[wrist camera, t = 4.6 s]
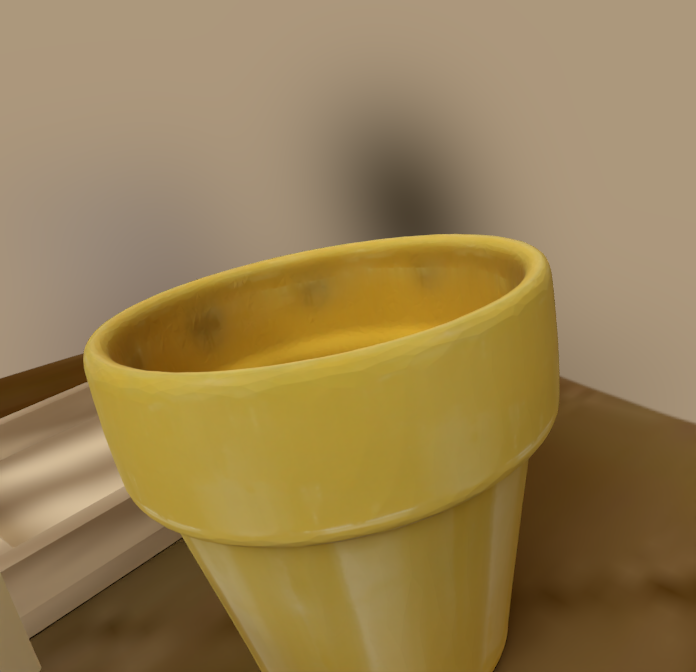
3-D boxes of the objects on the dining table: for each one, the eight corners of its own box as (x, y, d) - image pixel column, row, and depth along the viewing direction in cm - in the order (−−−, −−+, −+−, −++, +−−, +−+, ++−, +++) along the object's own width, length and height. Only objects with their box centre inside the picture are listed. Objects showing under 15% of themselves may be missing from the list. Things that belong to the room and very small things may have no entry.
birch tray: (-95, 514, 30) (-118, 468, 29) (174, 386, 40) (163, 349, 39) (20, 644, 20) (-9, 577, 19) (347, 427, 30) (336, 378, 29)
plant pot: (642, 562, 18) (618, 214, 15) (470, 948, 10) (354, 407, 8) (352, 490, 24) (296, 239, 21) (120, 696, 17) (-15, 355, 14)
